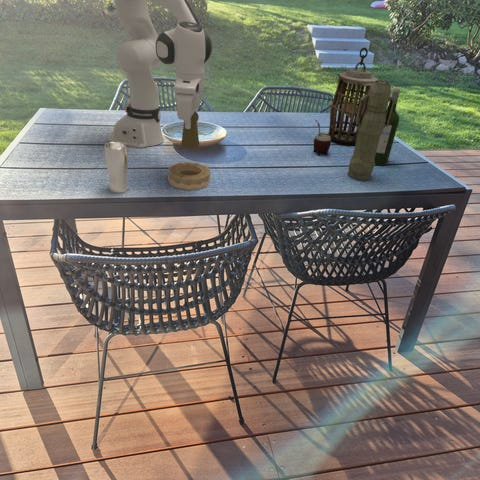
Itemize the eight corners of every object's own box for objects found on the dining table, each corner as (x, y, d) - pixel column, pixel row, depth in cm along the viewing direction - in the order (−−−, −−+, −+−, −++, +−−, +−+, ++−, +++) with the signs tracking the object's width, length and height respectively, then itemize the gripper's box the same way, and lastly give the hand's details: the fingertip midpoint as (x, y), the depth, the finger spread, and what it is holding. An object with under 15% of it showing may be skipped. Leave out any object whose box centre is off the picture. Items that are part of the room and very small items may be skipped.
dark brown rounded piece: (195, 148, 140) (196, 115, 134) (178, 146, 141) (178, 112, 135) (201, 142, 145) (202, 110, 139) (184, 140, 146) (184, 107, 140)
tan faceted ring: (164, 187, 145) (164, 176, 143) (174, 170, 157) (173, 160, 155) (205, 191, 144) (206, 181, 142) (212, 175, 156) (212, 164, 154)
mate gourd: (330, 152, 185) (337, 118, 177) (325, 158, 179) (332, 122, 171) (313, 148, 187) (319, 114, 179) (308, 154, 181) (314, 119, 173)
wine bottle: (387, 160, 182) (407, 88, 166) (386, 167, 175) (407, 92, 159) (368, 157, 184) (386, 84, 167) (366, 163, 177) (385, 89, 161)
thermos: (340, 171, 168) (360, 78, 149) (368, 171, 170) (391, 79, 151) (348, 181, 161) (371, 84, 142) (377, 181, 163) (403, 86, 144)
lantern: (319, 142, 195) (337, 46, 174) (328, 130, 211) (346, 41, 189) (362, 150, 190) (386, 53, 168) (368, 138, 205) (390, 47, 184)
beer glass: (109, 183, 144) (105, 140, 136) (131, 184, 145) (128, 141, 137) (106, 193, 138) (101, 149, 130) (128, 194, 139) (125, 150, 131)
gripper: (187, 73, 141) (186, 115, 149) (172, 88, 124) (173, 134, 132) (206, 75, 141) (204, 117, 149) (194, 90, 124) (193, 136, 131)
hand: (189, 125), depth 140 cm, fingers closed on dark brown rounded piece, 4 cm apart
